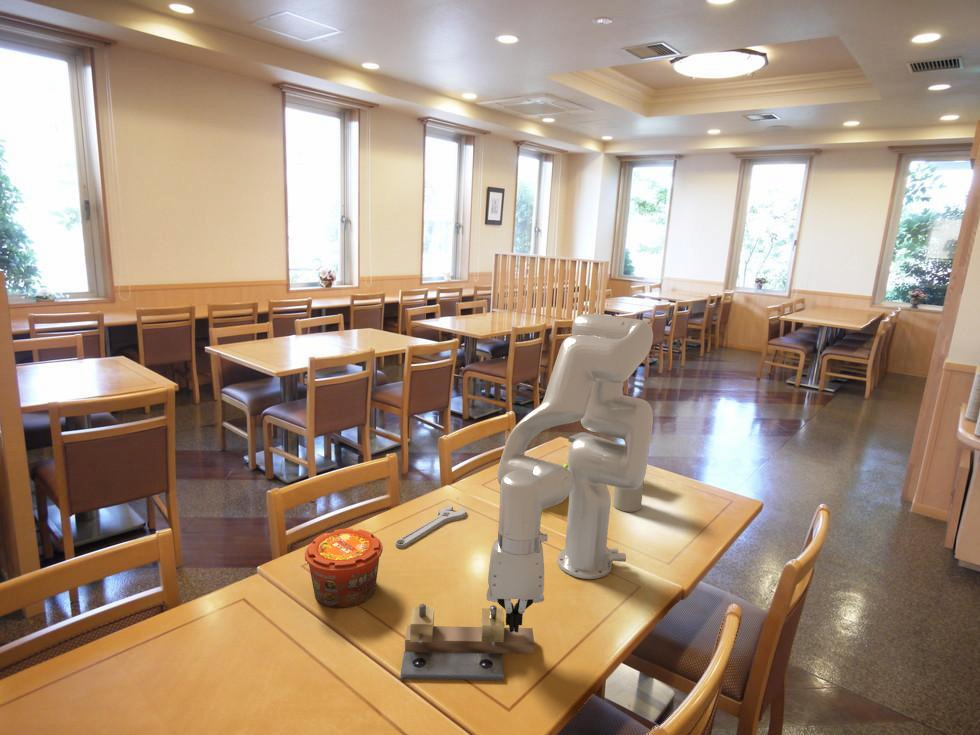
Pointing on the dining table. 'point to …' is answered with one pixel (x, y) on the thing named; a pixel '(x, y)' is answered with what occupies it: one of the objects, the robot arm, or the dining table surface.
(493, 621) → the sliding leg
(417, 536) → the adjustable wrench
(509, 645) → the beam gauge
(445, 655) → the flange plate
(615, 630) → the dining table surface
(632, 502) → the travel mug
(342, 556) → the food container
